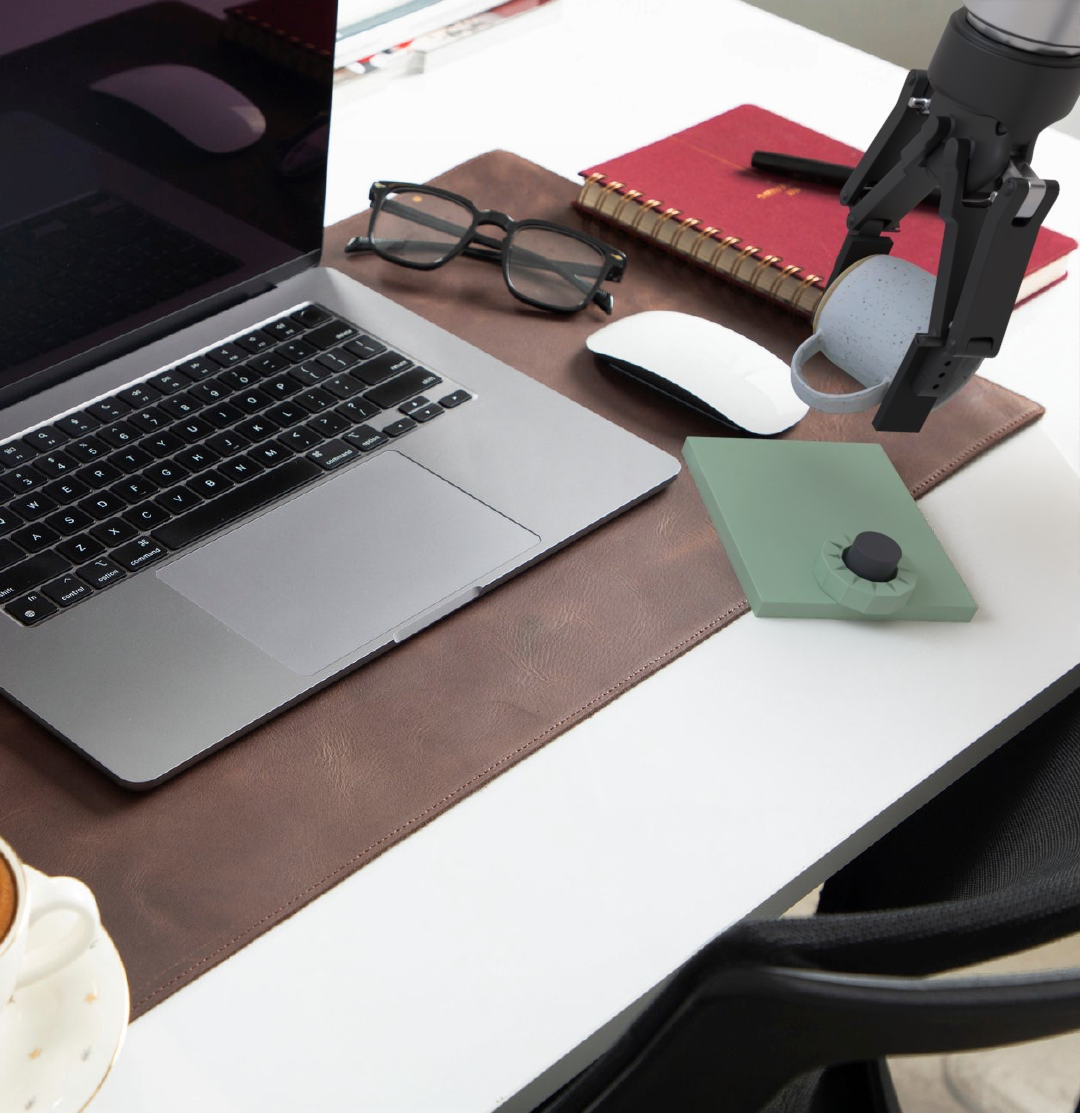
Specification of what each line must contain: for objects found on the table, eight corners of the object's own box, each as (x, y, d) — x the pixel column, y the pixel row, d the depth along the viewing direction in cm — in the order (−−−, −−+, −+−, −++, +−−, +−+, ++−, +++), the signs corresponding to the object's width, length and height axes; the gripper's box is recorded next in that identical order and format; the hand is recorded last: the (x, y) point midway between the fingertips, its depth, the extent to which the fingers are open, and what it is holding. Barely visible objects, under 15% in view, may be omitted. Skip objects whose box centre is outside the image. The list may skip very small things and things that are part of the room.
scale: (975, 633, 90) (997, 598, 88) (759, 628, 88) (776, 593, 86) (872, 458, 102) (889, 424, 100) (680, 451, 100) (694, 417, 98)
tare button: (898, 583, 88) (909, 563, 87) (854, 582, 88) (865, 561, 87) (880, 552, 90) (891, 531, 89) (837, 551, 90) (848, 530, 89)
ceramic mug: (864, 331, 95) (910, 227, 90) (966, 400, 90) (1022, 294, 85) (750, 372, 90) (792, 265, 85) (852, 447, 86) (902, 339, 80)
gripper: (877, -63, 83) (747, 273, 98) (1064, 123, 67) (873, 491, 82) (1001, -53, 84) (852, 278, 99) (1214, 133, 67) (998, 495, 83)
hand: (862, 375), depth 90 cm, fingers closed on ceramic mug, 10 cm apart
